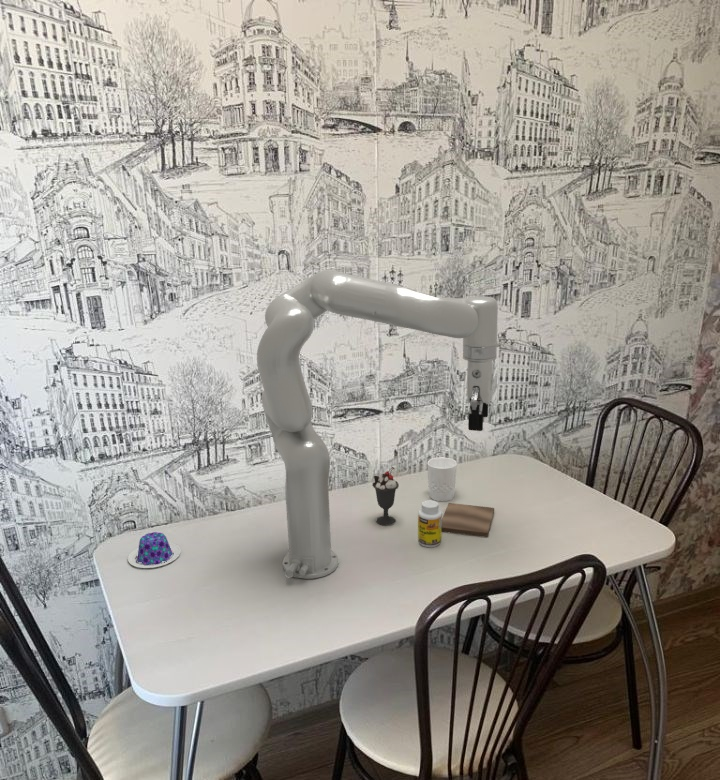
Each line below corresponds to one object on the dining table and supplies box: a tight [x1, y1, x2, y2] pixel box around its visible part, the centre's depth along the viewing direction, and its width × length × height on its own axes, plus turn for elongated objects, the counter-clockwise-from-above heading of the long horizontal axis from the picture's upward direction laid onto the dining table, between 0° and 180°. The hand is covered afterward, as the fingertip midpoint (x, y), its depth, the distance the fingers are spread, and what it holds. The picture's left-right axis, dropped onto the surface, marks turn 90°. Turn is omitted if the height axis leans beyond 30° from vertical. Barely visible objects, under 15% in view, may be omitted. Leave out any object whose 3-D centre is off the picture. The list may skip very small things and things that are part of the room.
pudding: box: [127, 531, 182, 569], centre depth 160 cm, size 12×12×5 cm
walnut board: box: [441, 502, 495, 538], centre depth 173 cm, size 14×12×1 cm
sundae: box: [371, 466, 399, 526], centre depth 173 cm, size 7×7×15 cm
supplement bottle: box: [417, 499, 443, 548], centre depth 162 cm, size 6×6×10 cm
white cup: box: [427, 456, 458, 502], centre depth 187 cm, size 8×8×10 cm
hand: (478, 423), depth 159 cm, fingers open, 9 cm apart
